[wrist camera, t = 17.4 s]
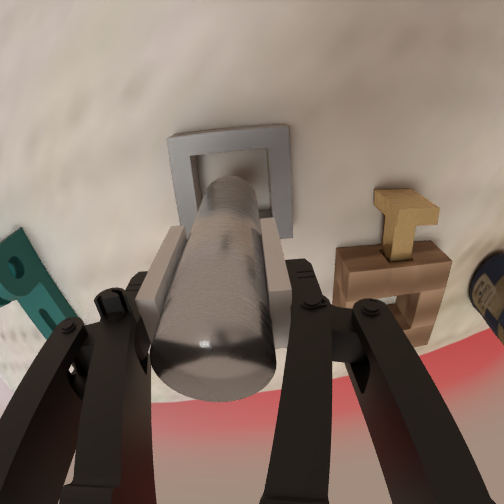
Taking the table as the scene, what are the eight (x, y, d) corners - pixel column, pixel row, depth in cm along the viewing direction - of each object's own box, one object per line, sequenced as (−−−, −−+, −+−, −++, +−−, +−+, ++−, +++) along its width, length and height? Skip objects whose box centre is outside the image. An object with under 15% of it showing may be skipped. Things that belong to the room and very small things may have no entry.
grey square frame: (174, 134, 27) (166, 138, 24) (284, 123, 26) (288, 126, 24) (189, 233, 31) (184, 246, 29) (288, 225, 31) (293, 237, 28)
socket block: (336, 248, 32) (349, 272, 28) (430, 240, 32) (452, 261, 28) (329, 332, 38) (338, 360, 33) (412, 320, 38) (427, 344, 33)
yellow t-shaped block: (374, 189, 29) (398, 209, 24) (411, 189, 29) (439, 207, 24) (367, 272, 33) (385, 302, 28) (401, 268, 33) (422, 296, 28)
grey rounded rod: (200, 178, 23) (133, 320, 8) (255, 173, 23) (274, 313, 8) (207, 227, 24) (167, 401, 10) (258, 223, 24) (277, 398, 10)
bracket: (-4, 244, 31) (-37, 274, 24) (22, 226, 30) (-15, 256, 23) (64, 344, 39) (44, 382, 32) (94, 337, 38) (75, 378, 31)
